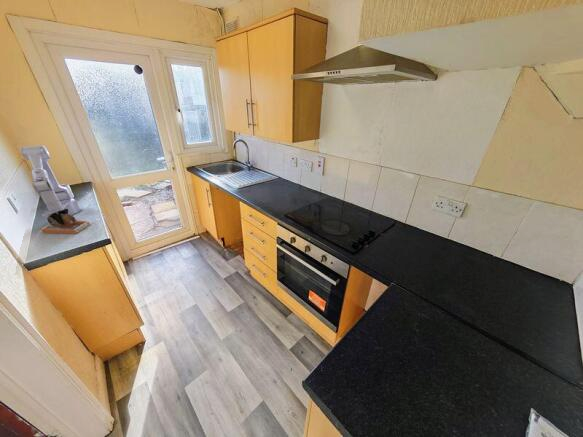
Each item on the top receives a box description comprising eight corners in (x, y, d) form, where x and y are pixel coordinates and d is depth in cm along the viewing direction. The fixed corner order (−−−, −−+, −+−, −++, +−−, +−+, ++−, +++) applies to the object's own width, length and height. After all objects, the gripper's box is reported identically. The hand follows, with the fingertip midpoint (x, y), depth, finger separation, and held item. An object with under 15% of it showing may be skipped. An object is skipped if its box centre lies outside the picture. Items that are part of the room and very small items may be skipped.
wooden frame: (59, 223, 138) (57, 220, 137) (90, 224, 138) (88, 221, 137) (43, 232, 129) (40, 229, 128) (75, 233, 129) (73, 230, 128)
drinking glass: (76, 195, 174) (70, 183, 169) (71, 199, 169) (65, 186, 164) (66, 196, 173) (60, 184, 168) (61, 200, 167) (54, 187, 162)
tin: (52, 227, 132) (43, 215, 128) (56, 224, 135) (48, 212, 130) (76, 228, 132) (68, 216, 127) (81, 225, 134) (73, 213, 130)
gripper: (46, 207, 118) (59, 229, 125) (70, 196, 131) (81, 216, 138) (33, 207, 119) (46, 229, 125) (58, 196, 131) (69, 216, 138)
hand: (63, 222), depth 132 cm, fingers closed on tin, 2 cm apart
